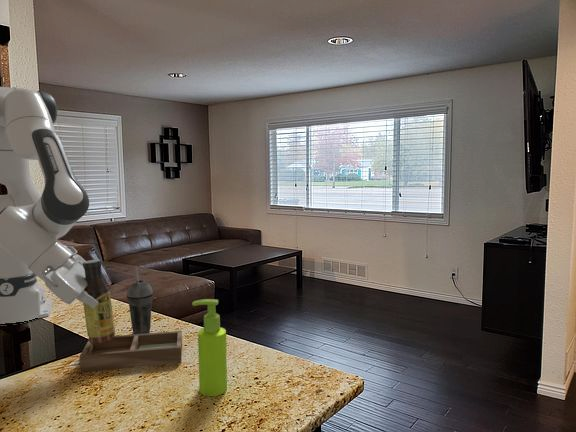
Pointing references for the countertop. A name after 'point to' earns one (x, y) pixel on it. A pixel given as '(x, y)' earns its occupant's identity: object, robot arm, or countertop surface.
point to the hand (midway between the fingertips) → (100, 300)
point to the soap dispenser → (212, 352)
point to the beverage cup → (140, 305)
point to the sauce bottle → (102, 314)
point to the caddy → (133, 351)
